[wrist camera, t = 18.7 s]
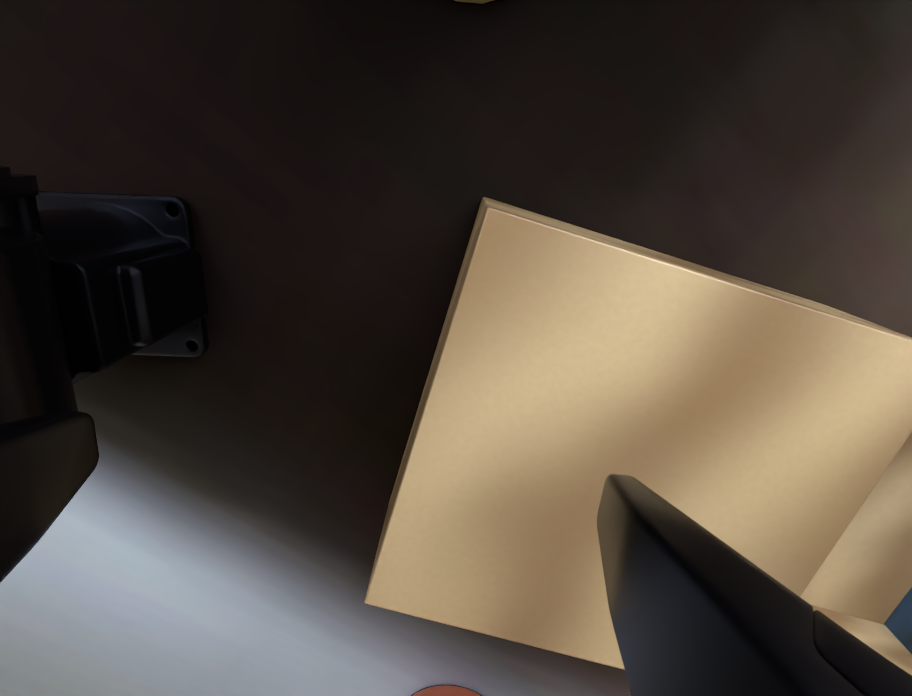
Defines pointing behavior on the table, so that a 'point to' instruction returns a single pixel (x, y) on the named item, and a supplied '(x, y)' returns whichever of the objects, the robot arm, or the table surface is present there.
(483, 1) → the cork
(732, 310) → the cabinet
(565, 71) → the table surface
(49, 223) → the robot arm
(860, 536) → the drawer
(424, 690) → the cup
